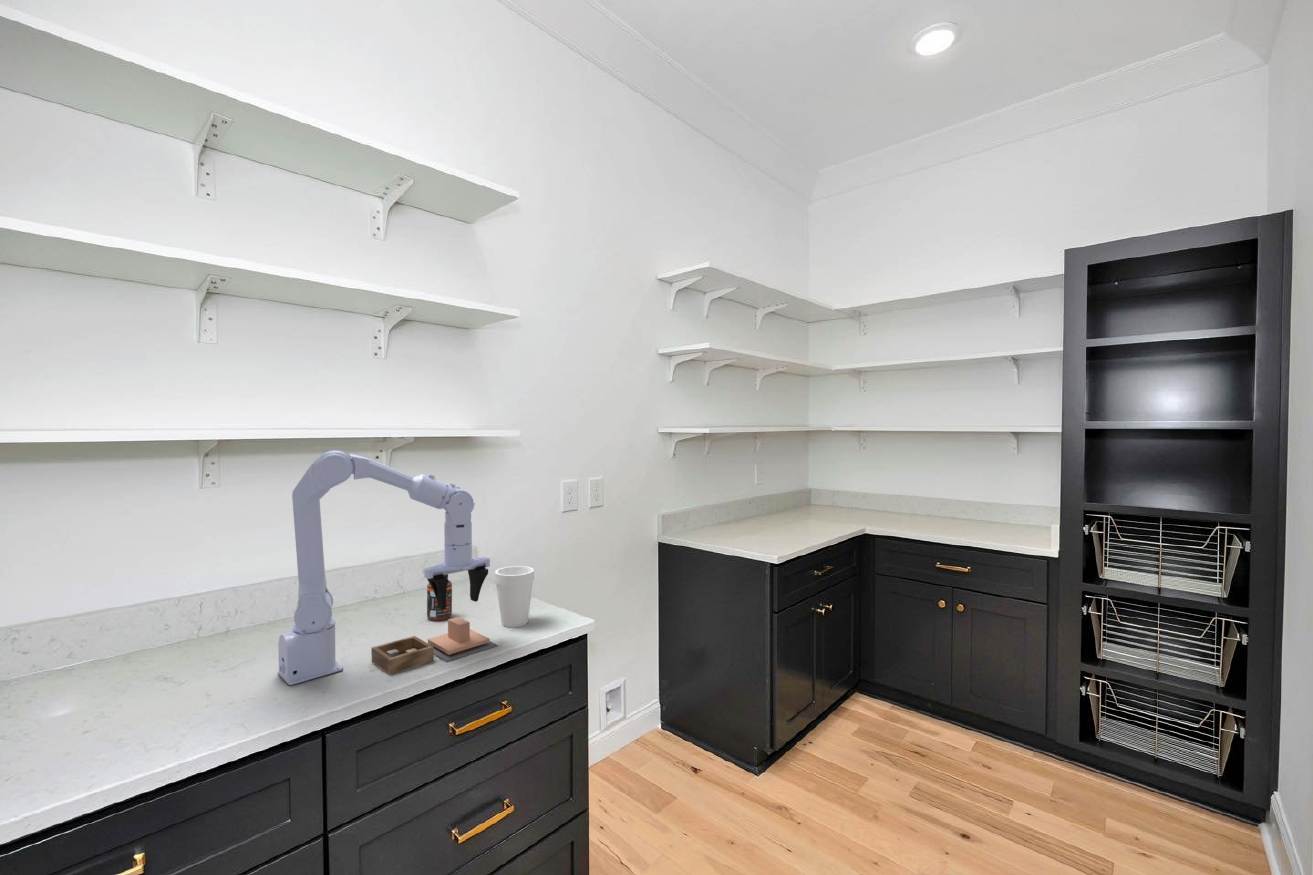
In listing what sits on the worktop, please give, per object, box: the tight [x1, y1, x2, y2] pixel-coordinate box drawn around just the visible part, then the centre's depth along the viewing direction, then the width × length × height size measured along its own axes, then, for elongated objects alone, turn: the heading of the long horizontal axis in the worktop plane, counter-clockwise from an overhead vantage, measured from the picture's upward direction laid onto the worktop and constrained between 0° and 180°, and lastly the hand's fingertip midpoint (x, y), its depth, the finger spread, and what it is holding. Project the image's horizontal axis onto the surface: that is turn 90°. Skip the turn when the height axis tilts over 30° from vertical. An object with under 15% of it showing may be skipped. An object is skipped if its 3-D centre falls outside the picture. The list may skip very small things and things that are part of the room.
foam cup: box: [494, 565, 535, 628], centre depth 143 cm, size 10×9×13 cm
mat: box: [427, 640, 498, 663], centre depth 128 cm, size 12×12×1 cm
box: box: [371, 635, 435, 676], centre depth 120 cm, size 9×9×3 cm
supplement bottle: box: [426, 574, 453, 622], centre depth 147 cm, size 6×6×11 cm
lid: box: [427, 616, 491, 655], centre depth 128 cm, size 10×10×5 cm
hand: (458, 604), depth 128 cm, fingers open, 7 cm apart
